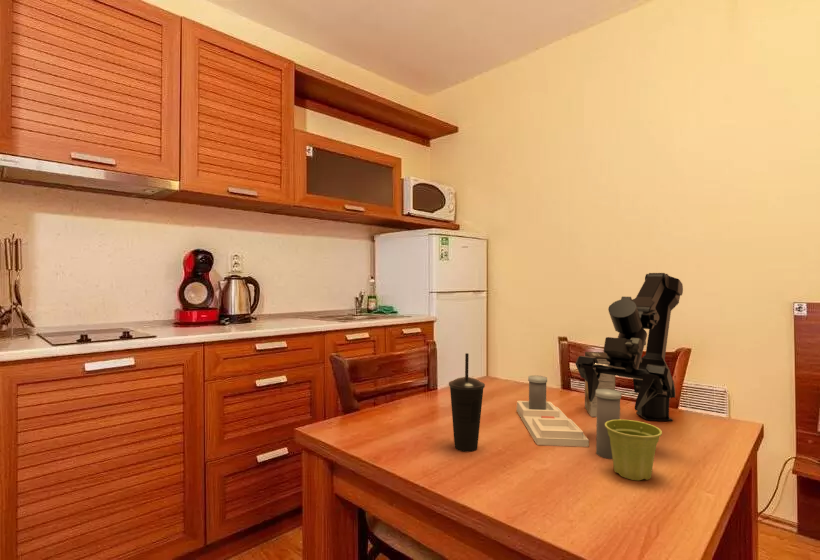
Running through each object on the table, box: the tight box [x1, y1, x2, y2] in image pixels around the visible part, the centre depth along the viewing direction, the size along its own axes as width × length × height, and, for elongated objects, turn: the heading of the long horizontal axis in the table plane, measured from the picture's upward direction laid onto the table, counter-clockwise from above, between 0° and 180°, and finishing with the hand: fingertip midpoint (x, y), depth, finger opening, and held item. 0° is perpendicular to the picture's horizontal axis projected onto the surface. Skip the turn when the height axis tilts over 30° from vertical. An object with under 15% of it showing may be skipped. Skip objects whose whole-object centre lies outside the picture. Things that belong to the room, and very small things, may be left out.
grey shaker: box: [595, 389, 622, 460], centre depth 89 cm, size 5×5×13 cm
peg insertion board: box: [516, 374, 590, 448], centre depth 106 cm, size 11×25×10 cm, turn 176°
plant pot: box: [605, 418, 663, 482], centre depth 80 cm, size 9×9×9 cm
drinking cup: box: [448, 352, 486, 453], centre depth 92 cm, size 8×8×20 cm
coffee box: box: [584, 351, 616, 418], centre depth 119 cm, size 9×6×16 cm
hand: (612, 404), depth 91 cm, fingers open, 9 cm apart
